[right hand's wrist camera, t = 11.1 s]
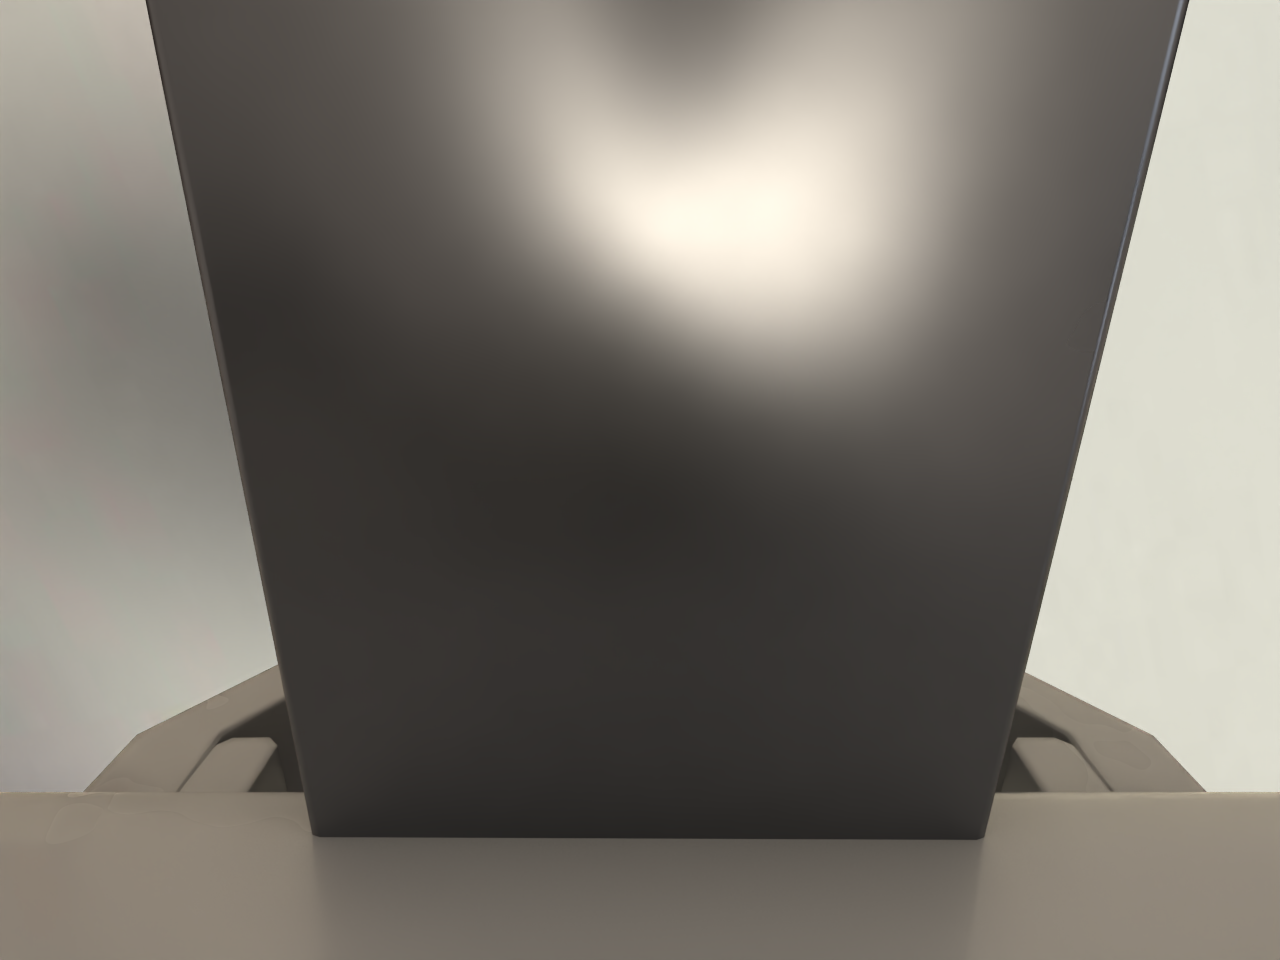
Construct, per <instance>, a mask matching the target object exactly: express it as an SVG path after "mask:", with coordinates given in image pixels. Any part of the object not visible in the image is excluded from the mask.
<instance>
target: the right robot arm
mask: <svg viewBox="0 0 1280 960" xmlns="http://www.w3.org/2000/svg"><path fill="white" fill-rule="evenodd" d="M0 960H1280V792H1206V791H1205V790H1204V789H1203V788H1202V787H1201V786H1200V784H1199V783H1198V782H1197V781H1196V780H1195V779H1194V778H1193V777H1192V776H1191V775H1190V774H1189V773H1188V772H1187V771H1186V770H1185V769H1184V768H1183V767H1182V766H1181V764H1180V763H1179V762H1178V761H1177V760H1176V759H1175V758H1174V757H1173V756H1172V755H1171V754H1170V753H1169V752H1168V751H1167V750H1166V749H1165V748H1164V747H1163V746H1162V744H1161V743H1160V742H1159V741H1158V740H1157V739H1156V738H1155V737H1154V736H1153V735H1151V734H1149V733H1147V732H1145V731H1143V730H1141V729H1139V728H1137V727H1135V726H1133V725H1131V724H1129V723H1127V722H1124V721H1122V720H1120V719H1118V718H1116V717H1114V716H1112V715H1110V714H1108V713H1106V712H1104V711H1102V710H1100V709H1098V708H1096V707H1094V706H1092V705H1090V704H1088V703H1086V702H1084V701H1082V700H1080V699H1078V698H1076V697H1074V696H1072V695H1070V694H1068V693H1066V692H1064V691H1062V690H1060V689H1058V688H1056V687H1054V686H1052V685H1050V684H1048V683H1046V682H1044V681H1042V680H1040V679H1038V678H1036V677H1034V676H1032V675H1029V674H1027V673H1024V677H1023V681H1022V685H1021V689H1020V693H1019V698H1018V702H1017V706H1016V710H1015V714H1014V718H1013V722H1012V726H1011V730H1010V734H1009V738H1008V742H1007V747H1006V751H1005V755H1004V759H1003V763H1002V767H1001V771H1000V775H999V779H998V783H997V787H996V791H995V796H994V800H993V804H992V808H991V812H990V816H989V820H988V824H987V828H986V832H985V836H984V838H981V839H978V840H867V839H628V838H388V837H318V836H315V835H312V831H311V826H310V821H309V816H308V811H307V806H306V801H305V796H304V791H303V786H302V781H301V776H300V771H299V766H298V761H297V756H296V751H295V746H294V741H293V736H292V731H291V726H290V721H289V716H288V711H287V706H286V701H285V696H284V691H283V686H282V681H281V676H280V671H279V666H278V665H276V666H274V667H272V668H270V669H268V670H266V671H264V672H262V673H260V674H258V675H256V676H254V677H252V678H250V679H248V680H246V681H244V682H242V683H240V684H238V685H236V686H234V687H232V688H230V689H228V690H226V691H224V692H222V693H220V694H218V695H216V696H214V697H212V698H210V699H208V700H206V701H204V702H202V703H200V704H198V705H196V706H194V707H192V708H190V709H188V710H186V711H184V712H182V713H180V714H178V715H176V716H174V717H172V718H170V719H168V720H166V721H164V722H162V723H159V724H157V725H155V726H153V727H151V728H149V729H147V730H145V731H143V732H141V733H139V734H137V735H136V736H135V737H134V738H133V740H132V741H131V742H130V743H129V744H128V745H127V746H126V747H125V748H124V749H123V750H122V751H121V752H120V753H119V754H118V755H117V757H116V758H115V759H114V760H113V761H112V762H111V763H110V764H109V765H108V766H107V767H106V768H105V769H104V770H103V771H102V772H101V774H100V775H99V776H98V777H97V778H96V779H95V780H94V781H93V782H92V783H91V784H90V785H89V786H88V787H87V788H86V789H85V791H84V792H0Z"/></svg>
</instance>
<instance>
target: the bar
mask: <svg viewBox="0 0 1280 960" xmlns="http://www.w3.org/2000/svg"><path fill="white" fill-rule="evenodd" d="M1188 3H1189V0H146V5H147V10H148V15H149V20H150V25H151V30H152V35H153V40H154V45H155V50H156V55H157V60H158V65H159V70H160V75H161V80H162V85H163V90H164V95H165V100H166V105H167V110H168V115H169V120H170V125H171V130H172V135H173V140H174V145H175V150H176V155H177V160H178V165H179V170H180V175H181V180H182V185H183V190H184V195H185V200H186V205H187V210H188V215H189V220H190V225H191V230H192V235H193V240H194V245H195V250H196V255H197V260H198V265H199V270H200V275H201V280H202V285H203V290H204V295H205V300H206V305H207V310H208V315H209V320H210V325H211V330H212V335H213V340H214V345H215V350H216V355H217V360H218V365H219V370H220V375H221V380H222V385H223V390H224V395H225V400H226V405H227V410H228V415H229V420H230V425H231V430H232V435H233V440H234V446H235V451H236V456H237V461H238V466H239V471H240V476H241V481H242V486H243V491H244V496H245V501H246V506H247V511H248V516H249V521H250V526H251V531H252V536H253V541H254V546H255V551H256V556H257V561H258V566H259V571H260V576H261V581H262V586H263V591H264V596H265V601H266V606H267V611H268V616H269V621H270V626H271V631H272V636H273V641H274V646H275V651H276V656H277V661H278V666H279V671H280V676H281V681H282V686H283V691H284V696H285V701H286V706H287V711H288V716H289V721H290V726H291V731H292V736H293V741H294V746H295V751H296V756H297V761H298V766H299V771H300V776H301V781H302V786H303V791H304V796H305V801H306V806H307V811H308V816H309V821H310V826H311V831H312V835H315V836H318V837H388V838H628V839H867V840H978V839H981V838H984V836H985V832H986V828H987V824H988V820H989V816H990V812H991V808H992V804H993V800H994V796H995V791H996V787H997V783H998V779H999V775H1000V771H1001V767H1002V763H1003V759H1004V755H1005V751H1006V747H1007V742H1008V738H1009V734H1010V730H1011V726H1012V722H1013V718H1014V714H1015V710H1016V706H1017V702H1018V698H1019V693H1020V689H1021V685H1022V681H1023V677H1024V673H1025V669H1026V665H1027V661H1028V657H1029V653H1030V649H1031V644H1032V640H1033V636H1034V632H1035V628H1036V624H1037V620H1038V616H1039V612H1040V608H1041V604H1042V599H1043V595H1044V591H1045V587H1046V583H1047V579H1048V575H1049V571H1050V567H1051V563H1052V559H1053V555H1054V550H1055V546H1056V542H1057V538H1058V534H1059V530H1060V526H1061V522H1062V518H1063V514H1064V510H1065V506H1066V501H1067V497H1068V493H1069V489H1070V485H1071V481H1072V477H1073V473H1074V469H1075V465H1076V461H1077V457H1078V452H1079V448H1080V444H1081V440H1082V436H1083V432H1084V428H1085V424H1086V420H1087V416H1088V412H1089V408H1090V403H1091V399H1092V395H1093V391H1094V387H1095V383H1096V379H1097V375H1098V371H1099V367H1100V363H1101V359H1102V354H1103V350H1104V346H1105V342H1106V338H1107V334H1108V330H1109V326H1110V322H1111V318H1112V314H1113V310H1114V305H1115V301H1116V297H1117V293H1118V289H1119V285H1120V281H1121V277H1122V273H1123V269H1124V265H1125V260H1126V256H1127V252H1128V248H1129V244H1130V240H1131V236H1132V232H1133V228H1134V224H1135V220H1136V216H1137V211H1138V207H1139V203H1140V199H1141V195H1142V191H1143V187H1144V183H1145V179H1146V175H1147V171H1148V167H1149V162H1150V158H1151V154H1152V150H1153V146H1154V142H1155V138H1156V134H1157V130H1158V126H1159V122H1160V118H1161V113H1162V109H1163V105H1164V101H1165V97H1166V93H1167V89H1168V85H1169V81H1170V77H1171V73H1172V69H1173V64H1174V60H1175V56H1176V52H1177V48H1178V44H1179V40H1180V36H1181V32H1182V28H1183V24H1184V20H1185V15H1186V11H1187V7H1188Z"/></svg>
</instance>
